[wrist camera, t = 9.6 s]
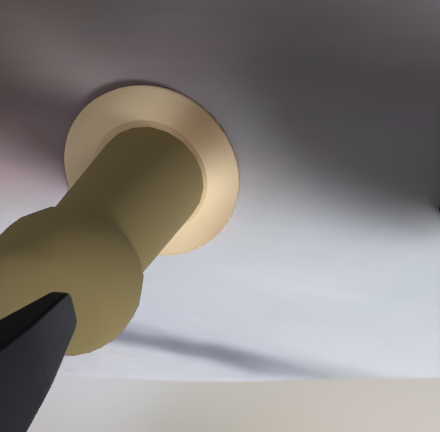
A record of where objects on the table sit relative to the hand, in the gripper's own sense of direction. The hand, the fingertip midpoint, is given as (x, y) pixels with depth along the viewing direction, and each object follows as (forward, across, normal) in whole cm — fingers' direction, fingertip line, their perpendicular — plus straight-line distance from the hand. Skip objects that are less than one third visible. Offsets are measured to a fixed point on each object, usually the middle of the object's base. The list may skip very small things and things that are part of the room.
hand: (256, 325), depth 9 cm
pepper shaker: (+13, +7, +2) cm, 14 cm away
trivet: (+13, +7, +2) cm, 15 cm away
